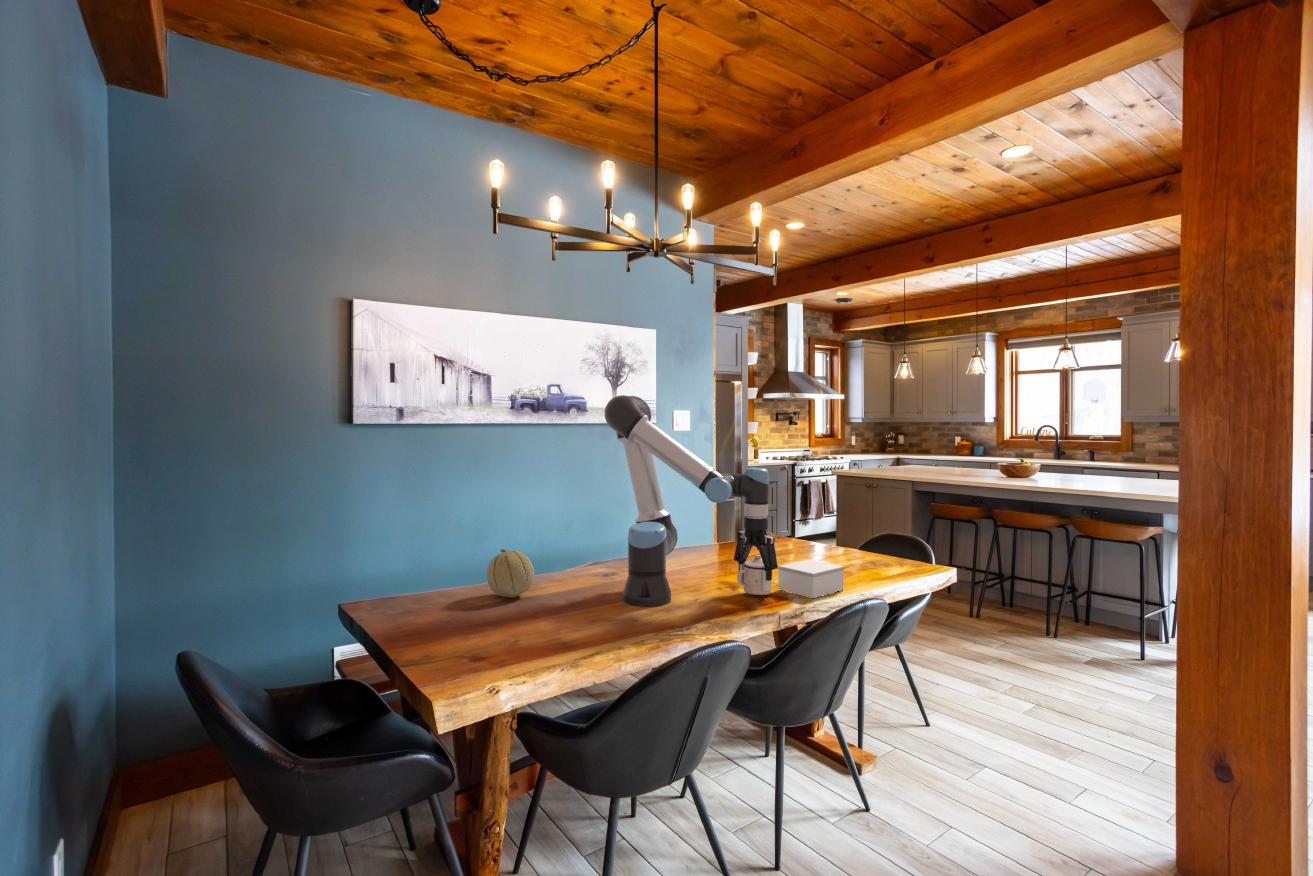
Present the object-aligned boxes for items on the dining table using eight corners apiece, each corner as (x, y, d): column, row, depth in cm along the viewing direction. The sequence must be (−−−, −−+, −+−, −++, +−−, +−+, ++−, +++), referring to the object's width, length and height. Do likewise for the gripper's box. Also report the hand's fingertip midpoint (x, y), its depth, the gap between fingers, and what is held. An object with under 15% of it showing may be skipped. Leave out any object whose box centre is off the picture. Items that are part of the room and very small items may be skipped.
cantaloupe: (529, 603, 202) (529, 554, 201) (481, 603, 202) (481, 554, 201) (538, 590, 217) (538, 545, 216) (493, 590, 216) (492, 544, 216)
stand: (777, 590, 218) (778, 565, 218) (808, 582, 228) (808, 559, 228) (813, 599, 207) (813, 573, 207) (843, 590, 217) (844, 566, 217)
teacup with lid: (761, 586, 218) (762, 551, 218) (777, 594, 210) (778, 557, 209) (729, 590, 213) (730, 554, 213) (744, 597, 205) (745, 560, 204)
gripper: (790, 520, 204) (789, 592, 205) (739, 511, 221) (737, 578, 222) (774, 522, 199) (773, 596, 200) (723, 513, 216) (721, 581, 217)
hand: (754, 587), depth 211 cm, fingers closed on teacup with lid, 9 cm apart
